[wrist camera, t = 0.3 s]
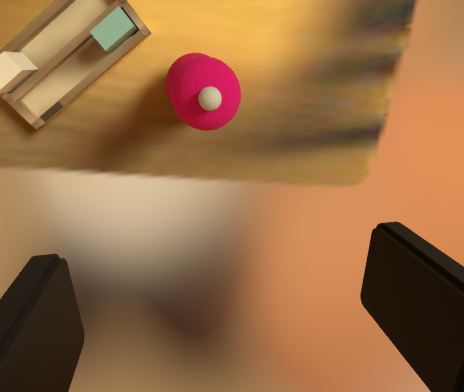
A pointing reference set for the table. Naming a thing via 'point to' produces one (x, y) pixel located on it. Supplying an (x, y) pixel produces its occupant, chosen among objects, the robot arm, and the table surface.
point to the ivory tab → (14, 70)
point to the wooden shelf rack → (66, 55)
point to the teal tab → (114, 30)
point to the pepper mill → (203, 91)
